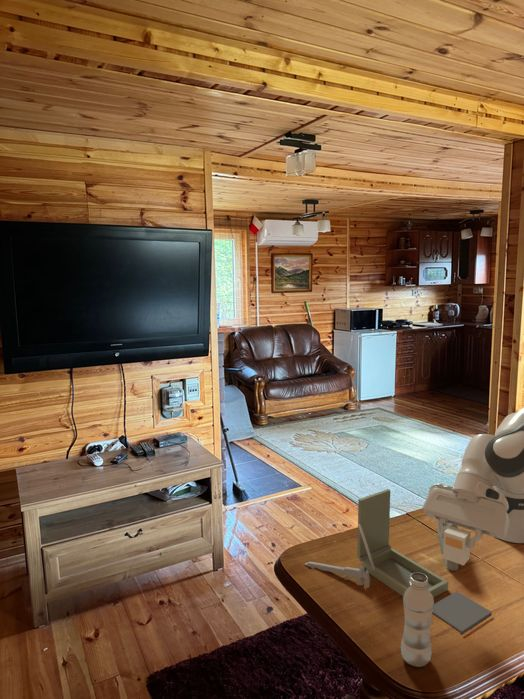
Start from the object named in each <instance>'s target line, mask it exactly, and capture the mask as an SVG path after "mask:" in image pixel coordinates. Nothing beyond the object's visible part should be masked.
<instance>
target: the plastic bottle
mask: <svg viewBox="0 0 524 699" xmlns="http://www.w3.org/2000/svg"><path fill="white" fill-rule="evenodd" d="M402 602H403V610H404V611H403V612H404V627H403V628H404V629H403V635H402V638H401V643H400V652H401V656H402V659H404V662H406V663H407V664H408V665H409V666H412V667H417V668H421V667H424V666H426V665H428V663H429V662H430V661H431V658H432V654H433V653H432V652H433V651H432V642H431V632H430V631H431V622H432V615H433V613H432V611H433V607H434V604H435V601H434V598H433V596H432V594H431V592H430V591H429V590H428V577H427V576H426V575H425V574H422V573H412V574H411V576H410V587H408V589H407V590H406V591H405V593H404V596H402Z"/></svg>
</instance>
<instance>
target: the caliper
mask: <svg viewBox="0 0 524 699" xmlns="http://www.w3.org/2000/svg"><path fill="white" fill-rule="evenodd" d="M303 566H306V567H308V568H310V567H311V569H315V568H316V569H319V570H320V571H325V572H330V573H336V574H339V575H340V574H341V575H345V578H347V579H348V578H349V579H356V580H357V583H358V584H359V586H363V585H364V583H365V587H366V589H369V588H370V587H371V576H370V574H369V572H368V571H366V566H365V567H364V568H363V567H362V565H360V567H359V568H357V567H350V566H345V567H342V566H337V565H331V564H326V563H320V562H315V561H308V562H305V563H304V564H303Z"/></svg>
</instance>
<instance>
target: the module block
mask: <svg viewBox="0 0 524 699" xmlns="http://www.w3.org/2000/svg"><path fill="white" fill-rule="evenodd" d="M467 538H469V539H471V531H468V530H465V529H464V528H459V527H458V528H456V527H453V526H449V527H448V528H447V529H446V530H445V531H444V549H443V555H442V558H443V559H447V560H450V561H452V562H455V563H458V565H461V566H465V565H466V564H467V562H468V561H469V560H470V556H471V554H470V552H471V548H469V547H467V546H466V542H467Z"/></svg>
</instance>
